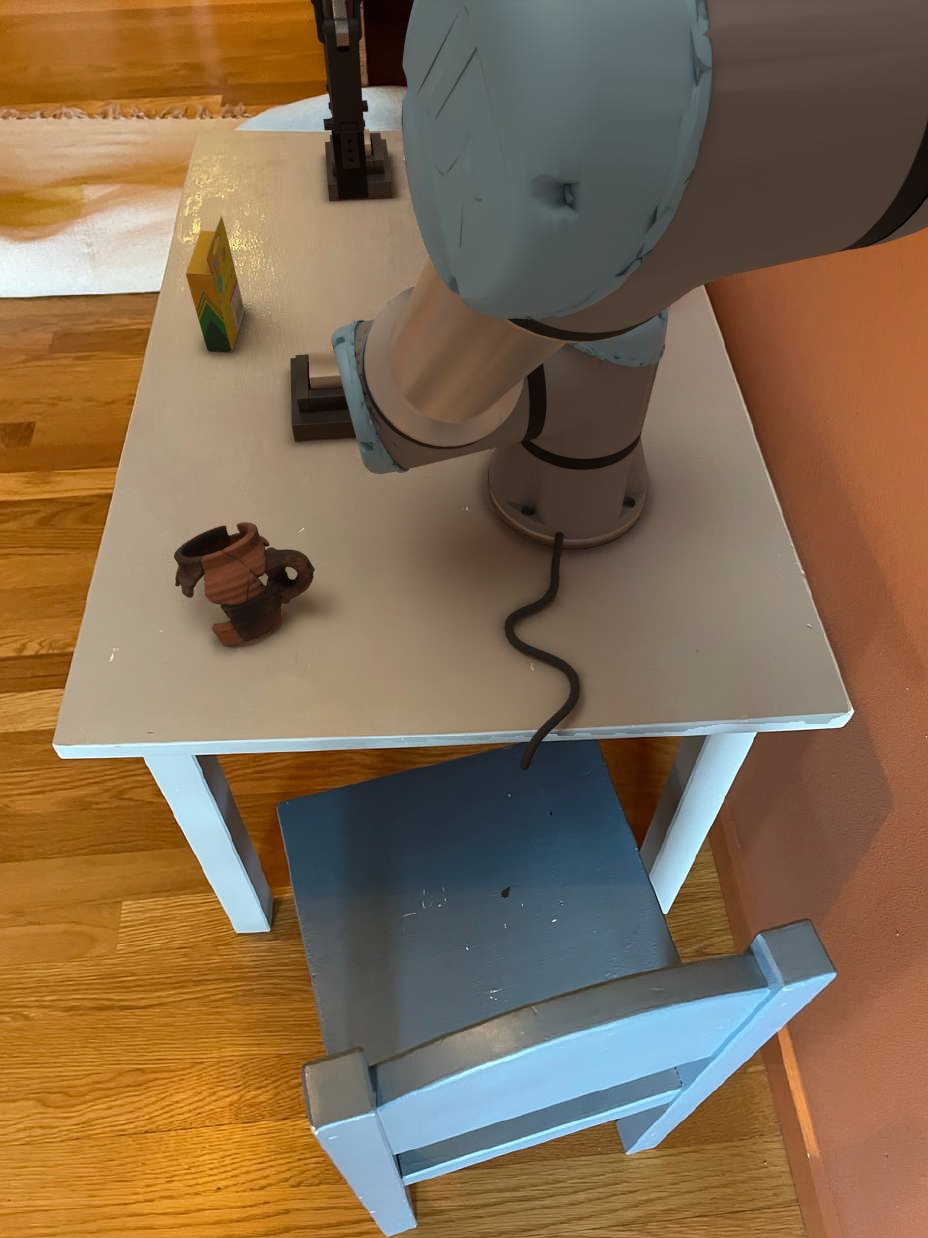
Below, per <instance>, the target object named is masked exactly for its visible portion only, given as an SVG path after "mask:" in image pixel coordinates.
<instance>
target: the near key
mask: <svg viewBox="0 0 928 1238" xmlns="http://www.w3.org/2000/svg"><path fill="white" fill-rule="evenodd" d="M308 354H309V378H310V384H311V390H314V389H329V388H343V385H342V381H341V377H340V373H339V370H338V366H337V362H336V358H335V354H334V351H322V352H310V353H308Z"/></svg>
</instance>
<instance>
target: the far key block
mask: <svg viewBox="0 0 928 1238" xmlns="http://www.w3.org/2000/svg"><path fill="white" fill-rule="evenodd" d="M369 133H370V141H371V154H372V155H369V156H366V167H367V181H368V195H369V198H356V199H342V200H341V201H352V200H353V201H354V200H356V201H357V200H375V199H392V198H393V182H392V181H393V180H392V173H391V167H390V158H389V151H388V144H387V139H386V138H382V135H381V132H369ZM324 150H325V151H324V152H325V168H326V183H327V192H328V201H329V202H336V201H340V200H339V198H338V191H337V181H336V172H335V162H334V152H333V142H332V134H330V135H329V141H324Z"/></svg>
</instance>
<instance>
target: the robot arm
mask: <svg viewBox="0 0 928 1238" xmlns="http://www.w3.org/2000/svg"><path fill="white" fill-rule="evenodd" d="M362 2H363V0H310V3H311V4H312V6H313V13H314V14H313V16H314V20H315V27H316V35H317V39H318V41H319V42H320V43H321V44H322V47H323V58H324V66H325V76H326V83H325V90H326V92H327V94H328V96H329V97H328V98H329V101H328V103H327V105H328V110H329V111H330V115H331V117H329V118H323V119H322V120H323V129H324V132H325V131H327V132H328V131H329V132H331V135H332V142H333V152H334V162H335V172H336V181H337V191H338V198H339V200H338V201H343V200H342V199H356V198H369V195H368V181H367V167H366V154H365V140H364V130H365V129H366V120H365V119H364V113H368V112H369V104H368V100H367V99H363V88H362V87H363V86H362V84H363V83H362V70H361V68H362V67H361V52H360V41H361V40H362V38H363V26H362V25H363V24H362V11H361V5H362ZM402 57H403V58H402V68H403V69H402V70H403V72H404V75H405V78H406V85H407V89H406V94H405V95H403V96H402V99H401V117H400V118H401V119H400V121H401V135H402V146H403V147H402V148H403V149H402V150H403V157H404V164H405V172H406V179H407V184H408V190H409V195H410V200H411V204H412V208H413V212H414V216H415V219H416V223H417V226H418V229H419V232H420V235H421V238H422V241H423V243H424V247H425V249H426V251H427V254H428V258H427V260H426V262H425V264H424V266H423V268H422V271H421V273H420V275H419V276H418V278H417V281H416V283H415V285H414V286H412V287H409V288H408V289H405V290H404V291H402V292H400V293H399V294H397V295H396V296H395V297H393V298H392V299H391V300H390V301H388V302H387V303H386V305H384V306H383V308H382V309H381V310H380V311H379V312H378V314H377V316H376V317H375V318H374V319H370V320H364V319H357V320H353V321H352V322H351V324H347V325H344V326H340V327H338V328H337V329H335V330H334V332H332V335H331V347H332V350H333V352H334V354H335V358H336V362H337V366H338V370H339V373H340V377H341V381H342V385H343V389H344V393H345V396H346V400H347V404H348V408H349V412H350V415H351V419H352V423H353V427H354V431H355V434H356V437H355V438H356V441H357V446H358V449H359V453H360V456H361V460H362V463H363V465H364V467H365V469H366V470H367V471H369V472H370V473H372V474H374V475H385V474H389V473H399V474H403V473H406V472H409V470H410V469H415V468H419V467H423V466H427V465H428V466H429V465H431V464H436V463H440V462H444V461H449V460H452V459H456V458H461V457H464V456H468V455H472V454H476V453H480V452H485V451H489V450H493V449H494V450H493V452H492V456H491V458H490V462H489V465H488V471H487V493H488V497H489V500H490V503H491V505H492V507H493V509H494V511H495V513H496V514H497V515H498V517H499V518H500V519H501V521H502V522H504V523H505V524H506V525H507V526H508V527H509V528H510V529H511V530H513V531H514V532H516V533H517V534H519V535H520V536H523V537H525V538H526V539H528V540H531V541H532V542H535V543H538V544H541V545H545V546H548V547H552V554H551V562H550V580H549V587H548V589H547V591H546V593H545V594H544V595H543V596H542V597H541V598H540V599H537V600H536V601H534V602H532V603H530V604H526V605H525V606H522V607H520V608H517V609H516V610H514V611H513V612H511V613H509V615H508V616H507V617H506V619H505V621H504V626H503V627H504V628H503V629H504V634H505V638H506V639H507V641H508V642H509V644H510V645H512V647H514V648H515V649H517V650H518V651H520V652H522V653H524V654H526V655H527V656H530V657H533V658H536V659H538V660H540V661H542V662H544V663H545V662H546V663H547V664H550V665H552V666H554V667H556V668H558V669H559V670H560V671H562V672H563V673H564V674H565V676H566V677H567V679H568V681H569V685H570V689H569V690H570V691H569V695H568V697H567V700H566V702H565V703H564V704H563V705H562V706H561V708H559V709H558V711H556V712H555V713H554V714H553V715H552V716H551V717H550V718H549V719H548V720H546V721H545V722H544V724H542V725H541V726H540V727H539V729H538V730H537V731H536V732H535V733H534V734H533V736H532V737H531V738H530V739H529V742H528V743H527V745H526V747H525V749H524V751H523V754H522V756H521V759H520V762H519V768H520V770H522V771H527V770H528V769H529V768H530V767H531V763H532V760H533V757H534V756H535V753H536V751H537V749H538V747H539V746H540V744H541V743H542V741H544V739H545V738H546V737H547V736H548V735H549V733H551V732H552V731H553V730H554V729H555V728H556V727H557V726H558V725H559V724H560V723H562V721H563V720H565V719H566V718H567V717H568V716H569V714H570V713H571V712H572V711H573V710H574V709H575V707H576V706H577V704H578V701H579V698H580V693H581V692H580V691H581V686H580V679H579V677H578V673H577V671H576V670H575V668H573V666H572V665H571V664H569V663H568V662H567V661H565V660H564V659H562V658H561V657H558V656H557V655H555V654H551V653H550V652H548V651H545V650H542V649H540V648H537V647H536V646H535V647H534V646H533V645H530V644H529V643H527V642H524V641H523V640H521V639H520V638H519V637H518V636H517V635H516V633H515V631H514V625H515V623H516V622H517V621H518V620H519V619H521V618H523V617H525V616H528V615H530V614H532V613H534V612H538V611H539V610H541V609H543V608H544V607H546V606H548V605H549V604H550V603H551V602H552V601H553V600H554V598H555V597H556V595H557V593H558V591H559V587H560V567H561V566H560V565H561V559H562V553H563V552H562V551H563V549H586V548H591V547H596V546H600V545H603V544H606V543H608V542H612V541H613V540H615V539H617V538H618V537H621V536H622V535H624V534H625V533H626V532H627V531H628V530H630V529H631V528H632V527H633V525H634V524H635V523H636V522H637V520H638V519H639V517H640V516H641V514H642V511H643V508H644V506H645V502H646V498H647V495H648V485H649V484H648V483H649V475H648V469H647V463H646V462H647V461H646V457H645V453H644V446H643V442H642V441H643V440H642V433H643V428H644V425H645V423H646V422H645V421H646V419H647V413H648V409H649V405H650V401H651V397H652V394H653V389H654V385H655V381H656V378H657V373H658V368H659V365H660V360H661V359H663V356H664V354H665V350H666V337H667V330H668V329H667V328H668V321H669V307H670V306H672V305H673V304H675V303H676V302H678V301H679V300H680V299H682V298H683V297H684V296H686V295H688V294H689V293H690V292H691V291H694V290H695V289H697V288H699V287H701V286H705V285H706V284H709V283H712V282H715V281H718V280H721V279H724V278H727V277H730V276H734V275H739V274H744V273H748V272H753V271H757V270H761V269H767V268H771V267H776V266H780V265H785V264H790V263H794V262H799V261H804V260H808V259H812V258H813V259H814V258H819V257H823V256H828V255H833V254H835V253H841V252H845V251H852V250H859V249H863V248H864V249H865V248H868V247H869V248H870V247H874V246H879V245H883V244H886V243H890V242H893V241H895V240H898V239H901V238H904V237H908V236H911V235H913V234H917V233H918V232H920V231H922V230H925V229H927V228H928V0H413V2H412V7H411V10H410V16H409V20H408V24H407V29H406V34H405V41H404V47H403V55H402ZM356 200H357V199H356ZM510 890H511V885H509V886H507V887H506V888H505V889H503V890H501V893H500V896H501V895H502V897H504V898H506V897H508V898H509V896H510Z"/></svg>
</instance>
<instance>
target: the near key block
mask: <svg viewBox="0 0 928 1238" xmlns="http://www.w3.org/2000/svg"><path fill="white" fill-rule="evenodd" d="M289 362H290V406H291V407H290V411H291V412H290V413H291V417H290V418H291V429H292V434H293V435H292V436H293V440H294V442H306V441H308V442H309V441H320V440H322V441H323V440H334V439H348V438H356V434H355V431H354V427H353V423H352V419H351V415H350V412H349V408H348V404H347V400H346V396H345V393H344V389H343V388H329V389H314V390H311V384H310V378H309V353H307V354H305V353H304V354H295V357H290V360H289Z"/></svg>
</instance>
